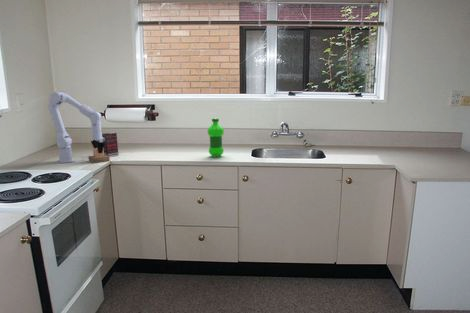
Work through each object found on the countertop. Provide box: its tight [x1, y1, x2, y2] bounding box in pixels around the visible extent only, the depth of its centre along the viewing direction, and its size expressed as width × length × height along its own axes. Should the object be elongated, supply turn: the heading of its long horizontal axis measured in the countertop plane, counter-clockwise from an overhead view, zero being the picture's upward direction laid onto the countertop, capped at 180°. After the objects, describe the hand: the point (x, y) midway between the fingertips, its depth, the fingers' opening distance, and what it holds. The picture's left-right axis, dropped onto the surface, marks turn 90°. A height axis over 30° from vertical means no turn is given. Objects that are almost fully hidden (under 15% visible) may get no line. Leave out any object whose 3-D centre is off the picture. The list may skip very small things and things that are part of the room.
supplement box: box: [102, 131, 119, 157], centre depth 264 cm, size 9×5×16 cm, turn 135°
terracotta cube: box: [92, 147, 104, 157], centre depth 248 cm, size 5×5×5 cm
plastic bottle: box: [207, 117, 225, 158], centre depth 255 cm, size 10×10×25 cm
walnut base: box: [88, 155, 110, 164], centre depth 249 cm, size 10×10×3 cm
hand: (98, 152), depth 248 cm, fingers open, 7 cm apart
